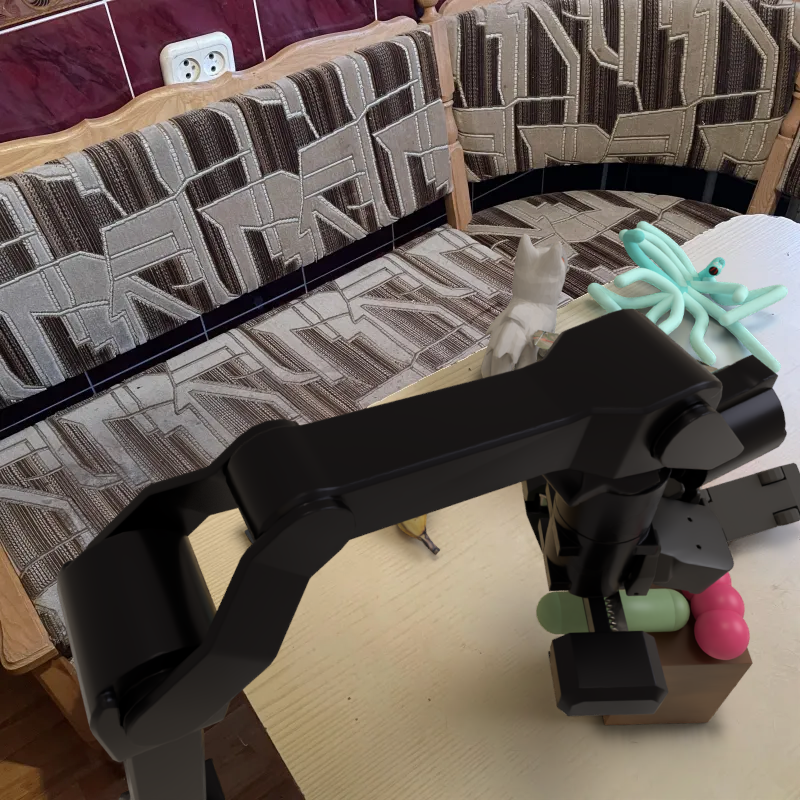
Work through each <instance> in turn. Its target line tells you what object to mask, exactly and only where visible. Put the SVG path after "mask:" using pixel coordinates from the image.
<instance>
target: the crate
mask: <svg viewBox="0 0 800 800" xmlns="http://www.w3.org/2000/svg"><path fill="white" fill-rule="evenodd" d="M650 589H672V590H675V591H677V592H679V593H680V594H682V595H683V596H684V598H685V599H686V600H687V602H688V604H689V608H690V616H689V619H688V621H687V623H686V624H685V625H684V626H683V627H682V628H681V629H679V630H676V631H671V632H646V633H648V634H649V635H651V636H653V637H654V638H655V642H656V646H657V650H658V653H659V657H660V661H661V665H662V669H663V673H664V676H665V680H666V684H667V688H668V694H667V695H666V697H665V699H664V700H663V702H662V704H661V705H660V706H659V708H658V709H657V711H656V712H655V713H654V714H635V715H602V719H603V724H604V726H621V725H623V726H624V725H658V724H664V725H665V724H698V723H701V724H702V723H703V724H704V723H709V722H710V720H711V719H712V718H713V717H714V715H715V714H716V713H717V711H718V710H719V709H720V707H721V706H722V705H723V703H724V702H725V701H726V699H728V697H729V696H730V694H731V693H732V692H733V690H734V689H735V688H736V686H737V685H738V684H739V682H740V681H741V680H742V678H743V677H744V675H745V674H746V673H747V672H748V670H750V668H751V667H752V665H753V664H754V663H753V659H752V657H751V654H750V651H749V648H748V647H747V648H746V650H745V651H744V652H743V653H742V654H741V655H740V656H738V657H736V658H734V659H730V660H721V659H716V658H713V657H711V656H709V655H708V654H706V653H705V652H704V651H703V650H702V649H701V648H700V646H699V645H698V643H697V641H696V638H695V634H694V626H695V622H696V619H695V618H694V616H693V614H692V611H691V601H690V600H688V599H687V598H686V597H685V595H684V594H683V592H682V590H680V589H674V588H668V587H662V586H657V585H654V584H653V583H652V584H651V587H650ZM619 590H625V589H619Z"/></svg>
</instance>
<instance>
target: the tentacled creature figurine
mask: <svg viewBox="0 0 800 800" xmlns="http://www.w3.org/2000/svg"><path fill="white" fill-rule="evenodd" d="M618 239H619V241H621V242H623V247H624V249H625V251H626V254H627V255H628V256H629V258H630V259H631V260H632V261H633V262H634V264H635V265H637V267H635V268H632V269H629V270H627V271H625V272H623V273H621V274H618V275H617V276H615V277H614V279H613V285H614V286H615V287H616V288H618V289H623V288H625V287H628V286H630V285H631V284H634V283H635V282H639V281H642V282H645V283H647V284H649V285H651V286H653V287H655V288H656V289H657V290H660V291H658V292H654V293H649V294H646V295H641V296H633V297H631V296H629V297H627V296H623V295H620V294H618V293H616V292H614V291H612V290H611V289H608V288H607V287H605V286H604V285H602V284H600V283H597V282H592V283H590V284H589V285H588V286H587V293H588V295H589V296H590V297H591V298H592V299H593V300H594V301H595V302H596V303H597V304H598V305H599V306H600V307H601V308H602V309H603V310H604V311H605V312H606V313H607V314H608V313H611V312H614V311H618V310H621V309H635V310H640V309H641V310H642V309H647V308H651V307H652V308H651V309H650V310H648V312H647V313H646V314H644V315H645V316H646V317H648V318H649V319H650V320H651V321H652V322H653V323H654V324H656V325H657V321H658V320H659V319H660V318H661V317H662V316H664V315H665V314H667V313H668V312H669V311H670V313H669V317H667V319H665V320H664V321H662V322H661V323H659V324H658V325H657V326H658V327H659V328H660V329H661V330H662V331H664V332H665V333H666V334H667V335H668V336H669V335H670V334H671V333H672V332H674V331H675V330H676V329H678V327H679V326H680V325H681V324H682V322H683V318H684V314H685V310H686V311H687V312H688V313H690V314H691V316H692V317H693V318H694V320H695V321H694V325H693V326H692V328H691V331H690V334H689V344H690V347H691V348H692V350H693V352H694V354H696V355H697V356H698V358H699V360H700V361H701V362H704V363H706V364H708V365H709V366H713V365H715V364H716V363H717V356H716V354H715V353H714V352H713V351H712V349H711V348H710V347H709V346H708V345H707V343H706V342H705V340H704V337H705V334H706V332H707V330H708V327H709V322H710V317H711V318H713V320H716V321H717V322H718V323H719V325H720V326H722V327H724V328H725V329H726V330H727V331H728V332H730V333H731V335H732V336H734V337H735V338H736V339H737V340H738V341H739V342H740V343H741V344H742V345H743V347H745V349H746V350H747V351H748V352H749V354H750V355H754V356H755V357H756V358H757V359H759V360H760V361H761V362H762V363H764V364H765V365H766V366H767V367H769V368H770V369H771V370H772V371H774V372H775V373H776V374H777V373H778V372H780V370H781V368H782V364H781V363H780V361H779V360H777V358H776V357H775V356H774V355H773V354H772V353H771V352H770V351H769V350H768V349H767V348H766V347H765V346H764V345H763V344H762V343H761V342H760V341H759V340H758V339H757V338H756V337H755V336H754V335H753V334H752V332H751V331H749V330H748V329H747V328H746V327H745V325H744V324H742V323H741V322H740V321H741V320H744V319H746V318H747V317H750V316H751V315H754V314H755V313H758V312H760V311H762V310H764V309H767V308H769V307H771V306H773V305H775V304H776V303H779V302H780V301H781V300H784V299H785V298H786V297H787V295H788V293H789V289H788V287H787V286H786V285H784V284H774V285H768V286H764V287H760V288H756V289H752V290H749V289H748V287H747V286H746V285H744V284H742V283H739V282H731V281H730V282H729V281H718V280H717V279H716V277H717V276H719V275H721V273H722V271H723V269H724V268H725V266H726V260H725V259H724V258H723V257H721V256H717V257H715V258H713V259H712V260H711V261H710V262H709V263H708V264H707V265H706V267H705V268H703V269H702V270H700V271H699V272H698V271H697V270H696V267H695V266H694V264H693V263H692V260H691V259H690V258H689V255H687V253H686V252H685V250H684V249H683V248H682V247H681V245H679V244H678V243H677V242H676V241H675V240H674V239H673V238H671V237H670V236H669V235H668V234H666V233H665V232H663V231H662V230H660V228H657V227H656V226H654V225H652V224H650V223H649V222H647V221H645V220H641V221H639V222H637V224H636V227H635V228H632V229H622V230H620V231H619V233H618ZM703 294H707V295H709V297H710V298H711V299H712V300H713V301H712V300H711V299H710V298H708V297H707V296H705V295H703ZM721 306H723V307H734V308H732V309H730V310H727V311H726V310H725V309H724V308H722V307H721ZM709 316H710V317H709Z"/></svg>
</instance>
